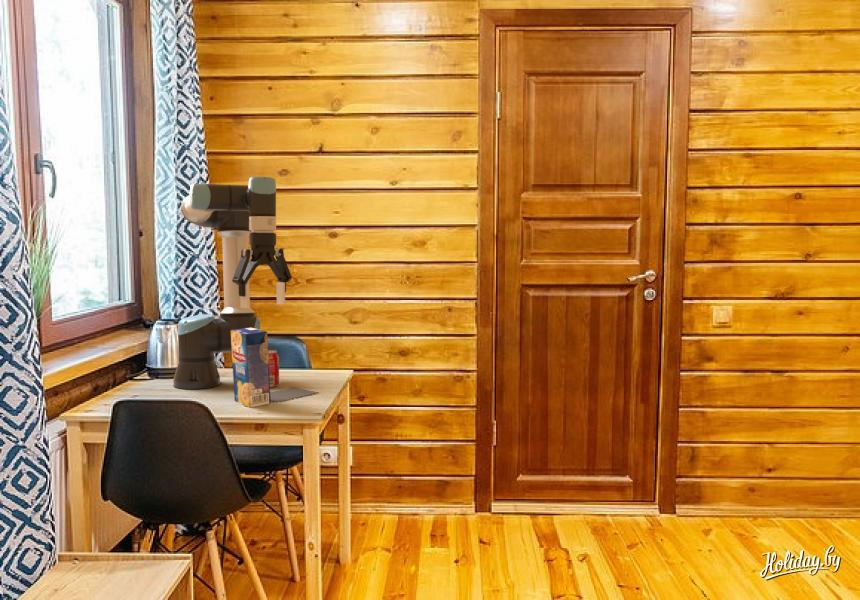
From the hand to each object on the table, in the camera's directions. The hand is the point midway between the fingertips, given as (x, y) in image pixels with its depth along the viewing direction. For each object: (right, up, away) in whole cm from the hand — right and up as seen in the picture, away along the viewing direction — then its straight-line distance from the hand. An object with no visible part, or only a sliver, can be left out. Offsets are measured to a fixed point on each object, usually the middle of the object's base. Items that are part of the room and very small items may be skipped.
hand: (263, 306), depth 214 cm
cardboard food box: (-6, -30, +14) cm, 33 cm away
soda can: (-6, -28, +36) cm, 46 cm away
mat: (+2, -29, +24) cm, 37 cm away
